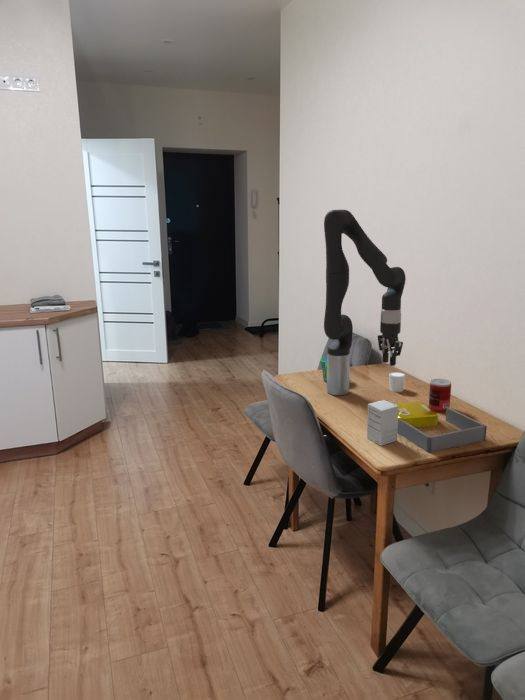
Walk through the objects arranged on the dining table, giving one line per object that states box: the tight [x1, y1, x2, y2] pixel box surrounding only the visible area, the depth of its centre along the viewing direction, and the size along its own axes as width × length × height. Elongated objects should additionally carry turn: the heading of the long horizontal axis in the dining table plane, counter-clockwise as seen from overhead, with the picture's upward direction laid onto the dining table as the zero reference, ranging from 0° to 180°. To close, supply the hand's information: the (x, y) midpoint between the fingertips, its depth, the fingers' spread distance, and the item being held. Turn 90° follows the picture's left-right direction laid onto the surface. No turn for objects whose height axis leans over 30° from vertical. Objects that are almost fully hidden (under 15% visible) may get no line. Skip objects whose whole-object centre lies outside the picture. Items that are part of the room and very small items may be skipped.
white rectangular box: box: [366, 399, 398, 446], centre depth 174 cm, size 7×7×13 cm
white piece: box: [388, 371, 406, 393], centre depth 222 cm, size 7×7×7 cm
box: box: [397, 407, 488, 453], centre depth 177 cm, size 18×23×5 cm
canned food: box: [428, 378, 452, 413], centre depth 199 cm, size 8×8×11 cm
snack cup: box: [319, 356, 327, 383], centre depth 236 cm, size 16×10×10 cm
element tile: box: [391, 400, 439, 428], centre depth 191 cm, size 15×15×5 cm
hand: (389, 363), depth 201 cm, fingers open, 4 cm apart
